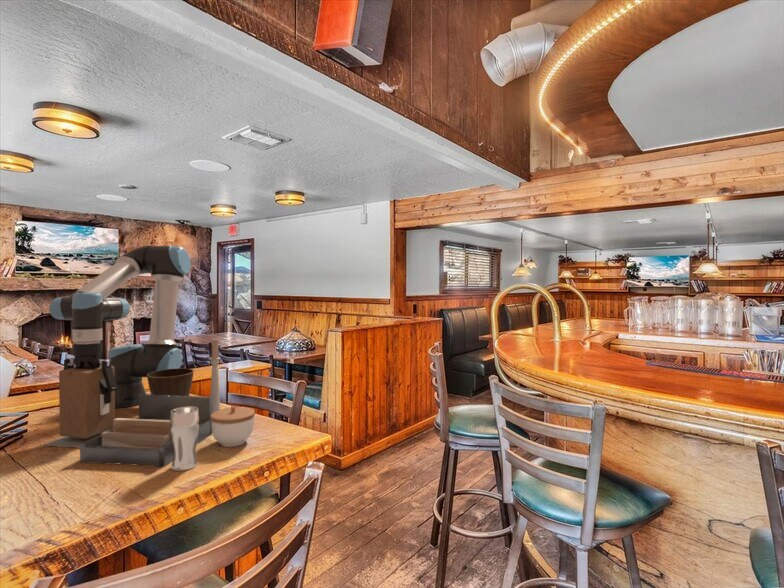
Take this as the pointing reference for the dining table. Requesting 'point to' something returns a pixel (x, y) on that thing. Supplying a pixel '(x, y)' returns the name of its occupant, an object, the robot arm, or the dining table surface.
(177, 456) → the beer glass
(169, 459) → the rack
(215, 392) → the candlestick
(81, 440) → the mat
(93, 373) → the wooden block
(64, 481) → the dining table surface
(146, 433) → the offcut stack
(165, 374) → the plant pot
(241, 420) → the lidded bowl
